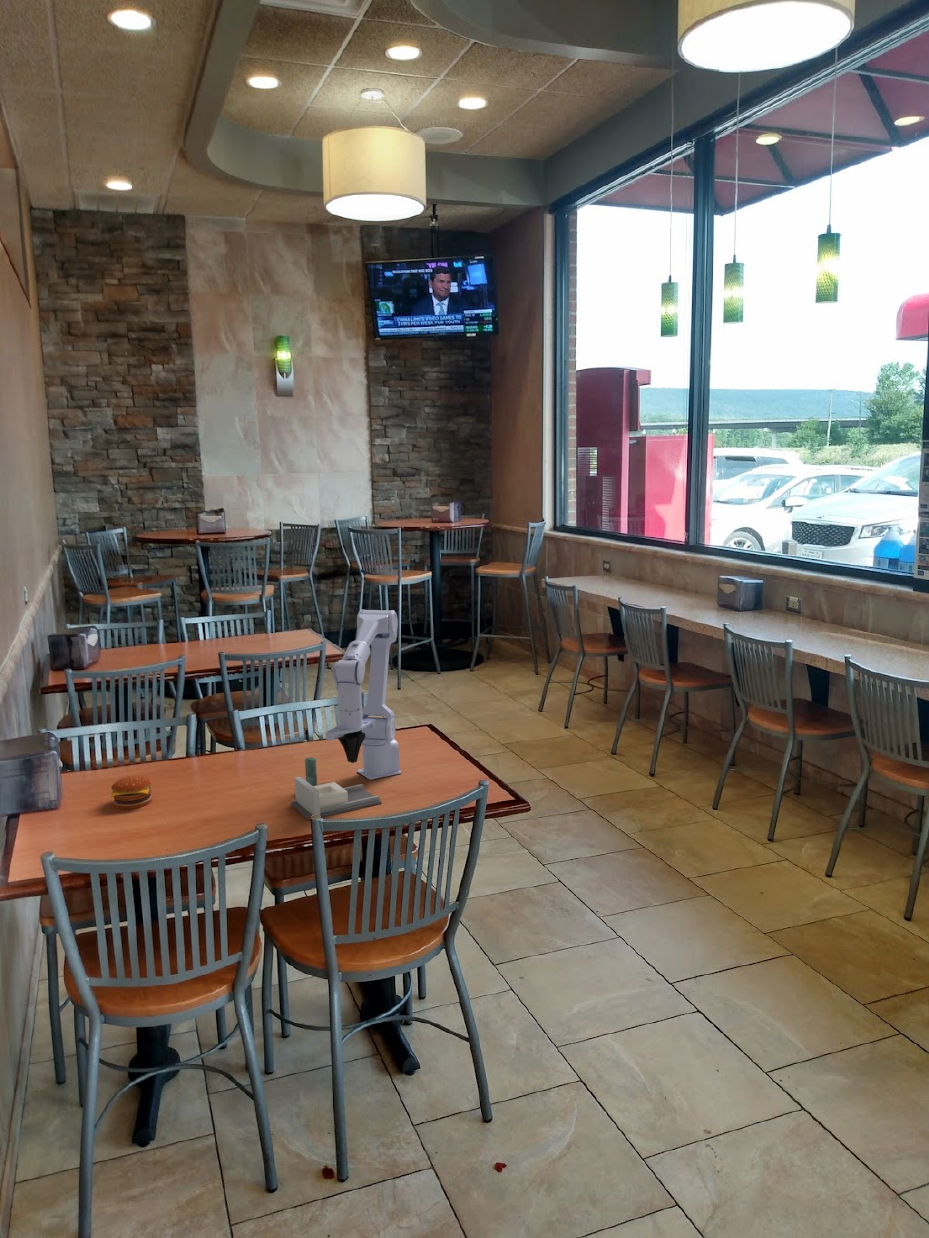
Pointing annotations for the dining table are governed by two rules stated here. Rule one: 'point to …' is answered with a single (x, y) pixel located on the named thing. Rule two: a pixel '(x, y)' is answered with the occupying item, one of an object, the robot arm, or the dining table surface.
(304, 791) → the base
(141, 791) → the hamburger
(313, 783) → the dowel
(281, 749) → the dining table surface
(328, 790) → the sliding block
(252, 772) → the dining table surface
